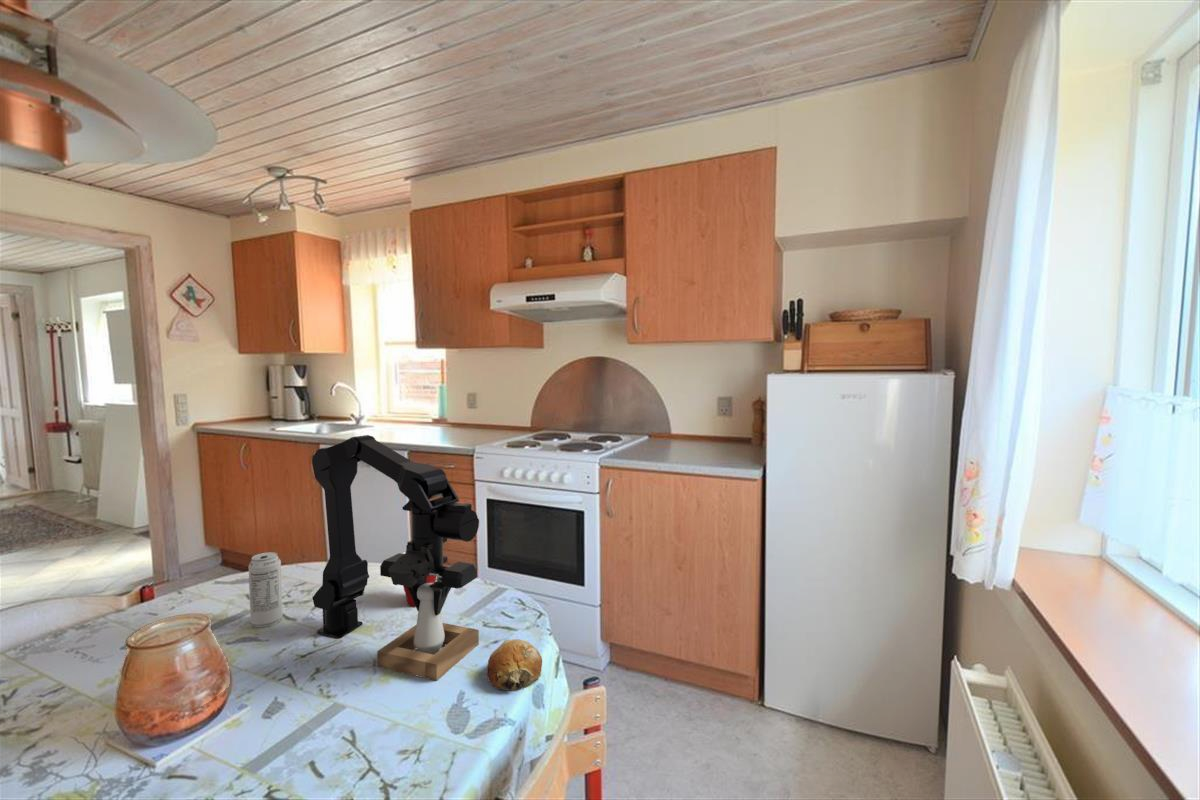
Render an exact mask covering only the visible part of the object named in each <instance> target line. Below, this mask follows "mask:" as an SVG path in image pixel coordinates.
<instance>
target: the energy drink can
mask: <svg viewBox="0 0 1200 800" xmlns="http://www.w3.org/2000/svg"><path fill="white" fill-rule="evenodd" d="M248 583H249V585H248V586H249V588H248V589H249V608H250V609H249V611H250V623H251V624H253V627H255V628H257V627H259V628H260V629H261V628H268V627H271V625H272V626H275V625H277V622H278V623H279V622H280V621H281V618H282V617H283V616H284V614H283V612H284V611H283V610H284V608H283V607H284V606H283V586H282V585H283V584H282V583H283V582H282V560H281V559H280V558H279V556H278V553H277V552H274V551H272V552H271V551H269V552H263V553H257V554H256V555H253V556H252V557H251V561H250V562H249V564H248ZM267 626H268V627H267Z"/></svg>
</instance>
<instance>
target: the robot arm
mask: <svg viewBox="0 0 1200 800" xmlns="http://www.w3.org/2000/svg"><path fill="white" fill-rule="evenodd" d="M360 462H363V463H364V464H367V465H368V466H369V467H372V468H373V469H375V470H376V471H379V472H380V473H382V474H383V475H385V476H386V477H388V478H389V479H392V480H393V481H394V482H395V483H396V484H397V487H398V490H399V492H401V494H403V495H404V496H405V497H406V498H407V499H408V502H406V503H405V504H404V505H403V506H402V510H403V511H407V512H411V515H410V516H411V540H410V541H407V544H406V548H405V549H406V550H405V552H406V553H405V554H402V553H403V552H401V553H396V554H394V555H393V556H390V557H389V558H386V559H383V561H382V562H381V565H380V566H379V567H380V568H379V570H380V575H379V576H380V577H386V578H390V580H391V582H392V584H393V585H394V586H402V587H403V586H405V587H407V588H408V590H409V592H410V594H411V596H412V599H413V601H414V604H415V606H416V607H415V608H416V610H417V612H419V606H420V600H419V599H418V598H417V590H418V588H419V587H420V586H421V585H423V584H426V581H427V576H428V575H433V576H436V582H435V583H433V584H431V585H430V586H429V587H430V588H431V589H432V590H433V591H434V611H435V615H439V614H441V612H442V610H443V607H444V605H445V603H446V600H447V598H448V595H449V593H450V591H451V590H452V589H461V588H463V587H465V586H467V585H468V584H469V583H471V582H472V581H474V580H476V579H478V577H477V576H478V574H477V573H478V570H477V567H476V566H475V564H474V563H470V562H462V561H457V562H456V563H453V564H452V565H450V566H444V564H446V563H447V562H448V556H445V555H444V544H445V543H447V542H448V539H449V540H453V541H454V540H455V541H461V542H466V543H467V542H470V541H472V540H473V539H474V538H475V537H476V535H477V533H478V531H479V526H480V525H479V524H480V518H479V517H478V514H477V513H476V512H475V510H472V504H471V503H468V502H467V503H466V502H464V503H459V502H460V499H459V497H458V495H457V494H456V492H455V490H454V488H453V487H452V485H451V483H450V481H449V480H448V478H447V475H446V472H445V471H444V470H443V469H442V468H440V467H437V466H435V465H431V464H428V463H421V462H415V461H412V460H410V459H408V458H407V457H405V456H403V455H401V453H398V452H397V451H395V450H394V449H392V448H390V447H388V446H387V445H384V444H383V443H381V442H380V441H378V440H376V438H375V437H374V436H372V435H369V434H366V435H365V434H364V435H358V436H352V437H350V438H348V439H346V440H344V441H342V442H339V443H337V444H335V445H332V446H328V447H321V448H318V449H317V450H316V451H315V453H314V454H312V457H311V465H312V468H313V469H312V470H313V474H314V478H315V479H314V480H316V481H317V482H318V484H319V485H320V486H321V488H322V489H323V491H324V500H325V511H326V525H327V537H328V548H329V549H328V551H329V558H328V560H327V563H326V564H325V567H324V569H323V571H322V584H321V586H320V587H319V589H317V591H316V592H315V593H314V595H313V596H312V602H313V605H314V607H315V608H316V609H320V610H321V609H322V624H323V625H322V626H323V627H321V628H319V629H317V631H316V632H317V634H319V635H324V636H327V637H334V638H338V639H340V638H342V637H344V636H345V635H347V634H349V633H351V632H352V631H354V630H357V628H359V627H361V626H362V625H363V624H364V623H363V621H359V618H358V617H359V615H358V613H359V612H358V610H359V609H358V607H357V598H359V597H362V596H364V593H365V589H366V587H367V585H368V579H369V578H370V575H369V571H368V570H369V569H368V568H369V565H368V561H367V559H362V558H361V557H360V556H359V554H358V553H357V550H356V537H355V526H354V525H355V524H354V514H353V513H354V512H353V501H352V489H351V487H352V484H353V482H354V480H355V478H356V476H357V475H358V474H357V473H358V465H359V464H358V463H360ZM440 496H441V497H440ZM438 497H439V498H438ZM435 498H436V499H435Z"/></svg>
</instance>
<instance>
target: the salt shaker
mask: <svg viewBox="0 0 1200 800" xmlns="http://www.w3.org/2000/svg"><path fill="white" fill-rule="evenodd" d="M431 584H433V583H426V584H423V585H421V586H420V587H419V588H418V590H417V598H418V599H419V600H420V606H419V612H418V611H417V612H418V614H417V619H416V630H415V636H414V645H415V647H416V651H418V652H423V653H428V654H432V655H434V654H436V653H437V652H438V651H439V650H441V649H442V647H443V645H444V644H443V642H444V637H445V634H444V629H443V624H442V623H443V620H442V615H441V613H440V614H439V615H435V611H434V591H433V590H432V589H431V588H430V587H429V586H430V585H431Z"/></svg>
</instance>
